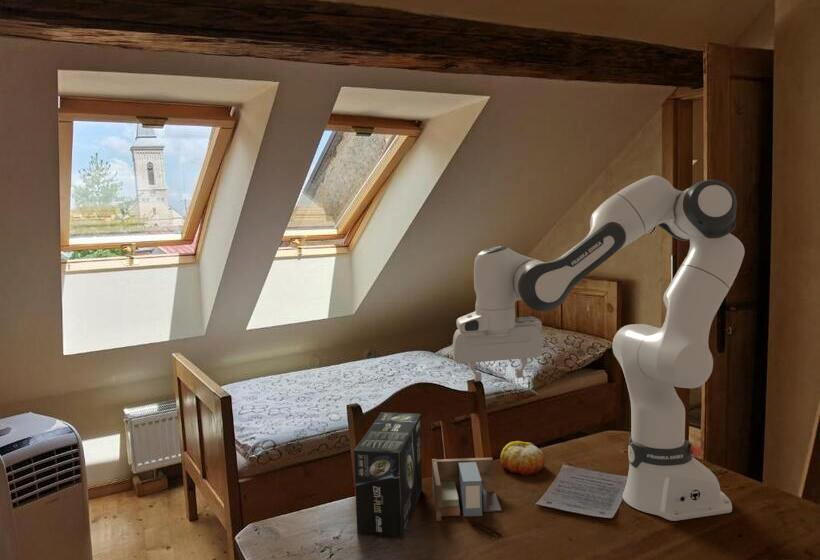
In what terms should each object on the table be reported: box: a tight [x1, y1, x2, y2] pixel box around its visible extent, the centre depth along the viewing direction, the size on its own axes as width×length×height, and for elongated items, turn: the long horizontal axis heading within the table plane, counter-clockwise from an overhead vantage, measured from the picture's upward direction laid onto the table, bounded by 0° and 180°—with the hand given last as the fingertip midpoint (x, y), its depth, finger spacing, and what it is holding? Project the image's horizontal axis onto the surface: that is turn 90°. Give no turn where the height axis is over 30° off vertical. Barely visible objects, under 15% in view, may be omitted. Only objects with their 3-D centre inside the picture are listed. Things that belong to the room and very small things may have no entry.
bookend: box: [481, 479, 502, 513], centre depth 146 cm, size 4×8×4 cm, turn 2°
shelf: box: [431, 457, 494, 522], centre depth 145 cm, size 14×14×8 cm
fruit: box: [499, 440, 546, 476], centre depth 164 cm, size 11×10×8 cm
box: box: [353, 412, 423, 539], centre depth 142 cm, size 23×10×19 cm, turn 168°
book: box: [458, 462, 483, 517], centre depth 145 cm, size 4×10×8 cm, turn 1°
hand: (498, 378), depth 148 cm, fingers open, 8 cm apart
